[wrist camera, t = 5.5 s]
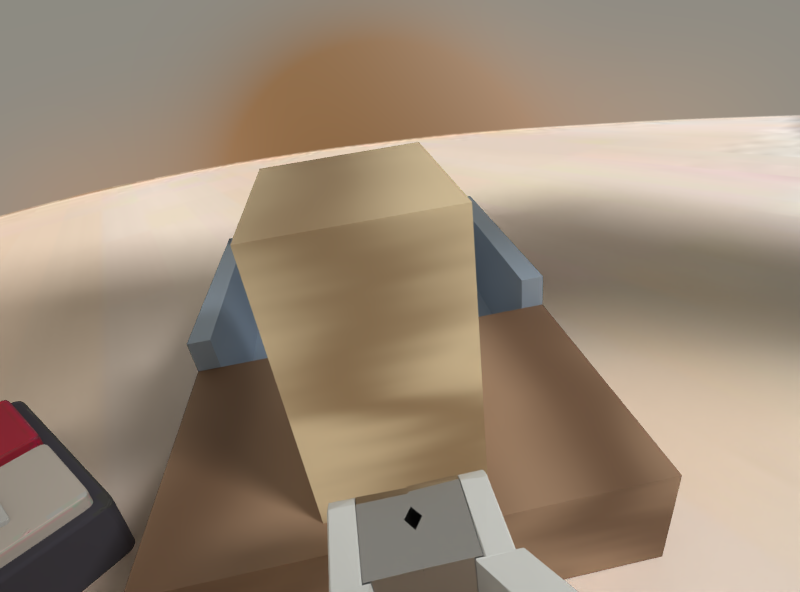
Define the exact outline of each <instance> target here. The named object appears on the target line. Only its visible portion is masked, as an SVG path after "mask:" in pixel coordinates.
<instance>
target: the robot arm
mask: <svg viewBox="0 0 800 592" xmlns="http://www.w3.org/2000/svg"><path fill="white" fill-rule="evenodd" d="M327 533H328V573H329V592H578V591H577V590H576V589H574V588H573V587H572V586H571V585H570V584H568V583H567V582H566V581H565V580H563V579H562V578H561V577H560V576H558V575H557V574H556V573H555V572H553V571H552V570H551V569H550V568H549V567H547V566H546V565H545V564H544V563H542V562H541V561H540V560H539V559H537V558H536V557H535V556H534V555H533V554H531V553H530V552H529V551H528V550H526V549H525V548H519V549H516V548H515V546H514V543H513V541H512V538H511V535H510V533H509V530H508V528H507V525H506V523H505V520H504V517H503V515H502V512H501V510H500V507H499V505H498V502H497V499H496V497H495V494H494V492H493V489H492V487H491V484H490V481H489V479H488V476H487V474H486V473H485V472H484V470H478V471H473V472H469V473H465V474H460V475H458V476H457V475H453V476H448V477H444V478H440V479H436V480H431V481H427V482H423V483H419V484H415V485H410V486H407V488H402V489H397V490H392V491H386V492H381V493H376V494H371V495H366V496H360V497H356V498H350V499H346V500H341V501H336V502H332V503H329V504H328V509H327Z"/></svg>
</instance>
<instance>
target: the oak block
mask: <svg viewBox="0 0 800 592" xmlns="http://www.w3.org/2000/svg"><path fill="white" fill-rule="evenodd" d="M230 246H231V249H232V252H233V255H234V258H235V261H236V264H237V267H238V270H239V273H240V276H241V279H242V282H243V285H244V288H245V291H246V294H247V297H248V300H249V303H250V306H251V309H252V312H253V315H254V318H255V321H256V324H257V327H258V330H259V333H260V336H261V339H262V342H263V345H264V348H265V351H266V354H267V357H268V360H269V363H270V366H271V369H272V372H273V375H274V378H275V381H276V384H277V387H278V390H279V393H280V396H281V399H282V402H283V405H284V408H285V411H286V414H287V417H288V420H289V423H290V426H291V429H292V432H293V435H294V438H295V441H296V444H297V446H298V449H299V452H300V455H301V458H302V461H303V464H304V467H305V470H306V473H307V476H308V479H309V482H310V485H311V488H312V491H313V494H314V497H315V500H316V503H317V506H318V509H319V512H320V515H321V518H322V521H323V524H324V523H327V509H328V504H329V503H332V502H336V501H341V500H346V499H350V498H356V497H360V496H366V495H371V494H376V493H381V492H386V491H392V490H397V489H402V488H407V486H410V485H415V484H419V483H423V482H427V481H431V480H436V479H440V478H444V477H448V476H453V475H457V476H458V475H460V474H465V473H469V472H473V471H478V470H484V472H485V473H486V474H487V460H486V442H485V424H484V406H483V389H482V371H481V353H480V335H479V317H478V299H477V281H476V264H475V246H474V228H473V210H472V201H471V200H470V199H469V198H468V197H467V196H466V195H465V193H464V192H463V191H462V190H461V189H460V188H459V187H458V186H457V184H456V183H455V182H454V181H453V180H452V179H451V178H450V177H449V175H448V174H447V173H446V172H445V171H444V170H443V169H442V168H441V167H440V165H439V164H438V163H437V162H436V161H435V160H434V159H433V158H432V156H431V155H430V154H429V153H428V152H427V151H426V150H425V149H424V147H423V146H422V145H421V144H420V143H419V142H416V143H410V144H404V145H398V146H392V147H387V148H381V149H375V150H369V151H363V152H357V153H351V154H345V155H339V156H333V157H327V158H321V159H315V160H309V161H303V162H297V163H291V164H286V165H280V166H274V167H268V168H262V169H260V170H259V172H258V175H257V177H256V180H255V183H254V185H253V188H252V190H251V193H250V195H249V198H248V201H247V203H246V206H245V208H244V211H243V213H242V216H241V218H240V221H239V224H238V226H237V229H236V231H235V234H234V236H233V239H232V242H231V244H230Z"/></svg>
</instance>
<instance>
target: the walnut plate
mask: <svg viewBox="0 0 800 592" xmlns="http://www.w3.org/2000/svg"><path fill="white" fill-rule="evenodd" d="M479 335H480V353H481V371H482V389H483V406H484V424H485V442H486V460H487V476H488V479H489V481H490V484H491V487H492V489H493V492H494V494H495V497H496V499H497V502H498V505H499V507H500V510H501V512H502V515H503V517H504V520H505V523H506V525H507V528H508V530H509V533H510V535H511V538H512V541H513V543H514V546H515V548H516V549H519V548H525V549H526V550H528V551H529V552H530V553H531V554H533V555H534V556H535V557H536V558H537V559H539V560H540V561H541V562H542V563H544V564H545V565H546V566H547V567H549V568H550V569H551V570H552V571H553V572H555V573H556V574H557V575H558V576H560V577H561V578H562V579H567V578H572V577H576V576H580V575H584V574H589V573H593V572H597V571H601V570H606V569H610V568H614V567H618V566H623V565H627V564H631V563H635V562H640V561H644V560H648V559H652V558H657V557H661V556H662V555H663V551H664V546H665V542H666V538H667V534H668V530H669V526H670V522H671V518H672V514H673V510H674V506H675V501H676V497H677V493H678V489H679V485H680V481H681V477H682V475H681V474H680V472H679V471H678V470H677V469H676V468H675V466H674V465H673V464H672V463H671V461H670V460H669V459H668V458H667V457H666V455H665V454H664V453H663V452H662V450H661V449H660V448H659V447H658V446H657V444H656V443H655V442H654V441H653V439H652V438H651V437H650V436H649V434H648V433H647V432H646V431H645V430H644V428H643V427H642V426H641V425H640V423H639V422H638V421H637V420H636V419H635V417H634V416H633V415H632V414H631V412H630V411H629V410H628V409H627V408H626V406H625V405H624V404H623V403H622V401H621V400H620V399H619V398H618V396H617V395H616V394H615V393H614V392H613V390H612V389H611V388H610V387H609V385H608V384H607V383H606V382H605V381H604V379H603V378H602V377H601V376H600V374H599V373H598V372H597V371H596V370H595V368H594V367H593V366H592V365H591V363H590V362H589V361H588V360H587V358H586V357H585V356H584V355H583V354H582V352H581V351H580V350H579V349H578V347H577V346H576V345H575V344H574V343H573V341H572V340H571V339H570V338H569V336H568V335H567V334H566V333H565V332H564V330H563V329H562V328H561V327H560V325H559V324H558V323H557V322H556V320H555V319H554V318H553V317H552V316H551V314H550V313H549V312H548V311H547V309H546V308H545V307H544V306H543V305H537V306H532V307H526V308H521V309H516V310H511V311H506V312H501V313H496V314H491V315H485V316H480V317H479ZM124 592H329V573H328V533H327V523H324V524H323V521H322V518H321V515H320V512H319V509H318V506H317V503H316V500H315V497H314V494H313V491H312V488H311V485H310V482H309V479H308V476H307V473H306V470H305V467H304V464H303V461H302V458H301V455H300V452H299V449H298V446H297V444H296V441H295V438H294V435H293V432H292V429H291V426H290V423H289V420H288V417H287V414H286V411H285V408H284V405H283V402H282V399H281V396H280V393H279V390H278V387H277V384H276V381H275V378H274V375H273V372H272V369H271V366H270V363H269V360H268V358H265V359H260V360H255V361H250V362H244V363H239V364H234V365H229V366H224V367H219V368H214V369H209V370H203V371H198V374H197V377H196V380H195V383H194V386H193V389H192V392H191V395H190V398H189V401H188V404H187V407H186V410H185V413H184V416H183V419H182V422H181V424H180V427H179V430H178V433H177V436H176V439H175V442H174V445H173V448H172V451H171V454H170V457H169V460H168V463H167V466H166V469H165V472H164V475H163V478H162V481H161V483H160V486H159V489H158V492H157V495H156V498H155V501H154V504H153V507H152V510H151V513H150V516H149V519H148V522H147V525H146V528H145V531H144V534H143V537H142V540H141V542H140V545H139V548H138V551H137V554H136V557H135V560H134V563H133V566H132V569H131V572H130V575H129V578H128V581H127V584H126V587H125V590H124Z"/></svg>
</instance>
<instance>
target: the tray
mask: <svg viewBox="0 0 800 592" xmlns="http://www.w3.org/2000/svg"><path fill="white" fill-rule="evenodd" d="M468 198H469V199H470V200H471V201H472V210H473V228H474V246H475V264H476V281H477V299H478V317H480V316H485V315H491V314H496V313H501V312H506V311H511V310H516V309H521V308H526V307H532V306H537V305H542V298H543V276H542V275H541V274H540V273H539V271H538V270H537V269H536V268H535V267H534V266H533V265H532V264H531V263H530V262H529V260H528V259H527V258H526V257H525V256H524V255H523V254H522V253H521V252H520V251H519V249H518V248H517V247H516V246H515V245H514V244H513V243H512V242H511V241H510V240H509V238H508V237H507V236H506V235H505V234H504V233H503V232H502V231H501V230H500V229H499V227H498V226H497V225H496V224H495V223H494V222H493V221H492V220H491V219H490V218H489V216H488V215H487V214H486V213H485V212H484V211H483V210H482V209H481V208H480V207H479V205H478V204H477V203H476V202H475V201H474V200H473V199H472V198H471V197H470V196H468ZM232 239H233V238H231V239H229V241H228V244H227V246H226V249H225V251H224V254H223V256H222V258H221V261H220V263H219V266H218V268H217V271H216V273H215V276H214V278H213V281H212V283H211V286H210V288H209V291H208V293H207V296H206V298H205V300H204V303H203V305H202V308H201V310H200V313H199V315H198V318H197V320H196V323H195V325H194V328H193V330H192V333H191V335H190V338H189V340H188V343H187V346H188V348H189V351H190V353H191V355H192V358H193V360H194V362H195V365H196V367H197V369H198V371H203V370H209V369H214V368H219V367H224V366H229V365H234V364H239V363H244V362H250V361H255V360H260V359H265V358H268V357H267V354H266V351H265V348H264V345H263V342H262V339H261V336H260V333H259V330H258V327H257V324H256V321H255V318H254V315H253V312H252V309H251V306H250V303H249V300H248V297H247V294H246V291H245V288H244V285H243V282H242V279H241V276H240V273H239V270H238V267H237V264H236V261H235V258H234V255H233V252H232V249H231V246H230V244H231V242H232Z"/></svg>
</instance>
